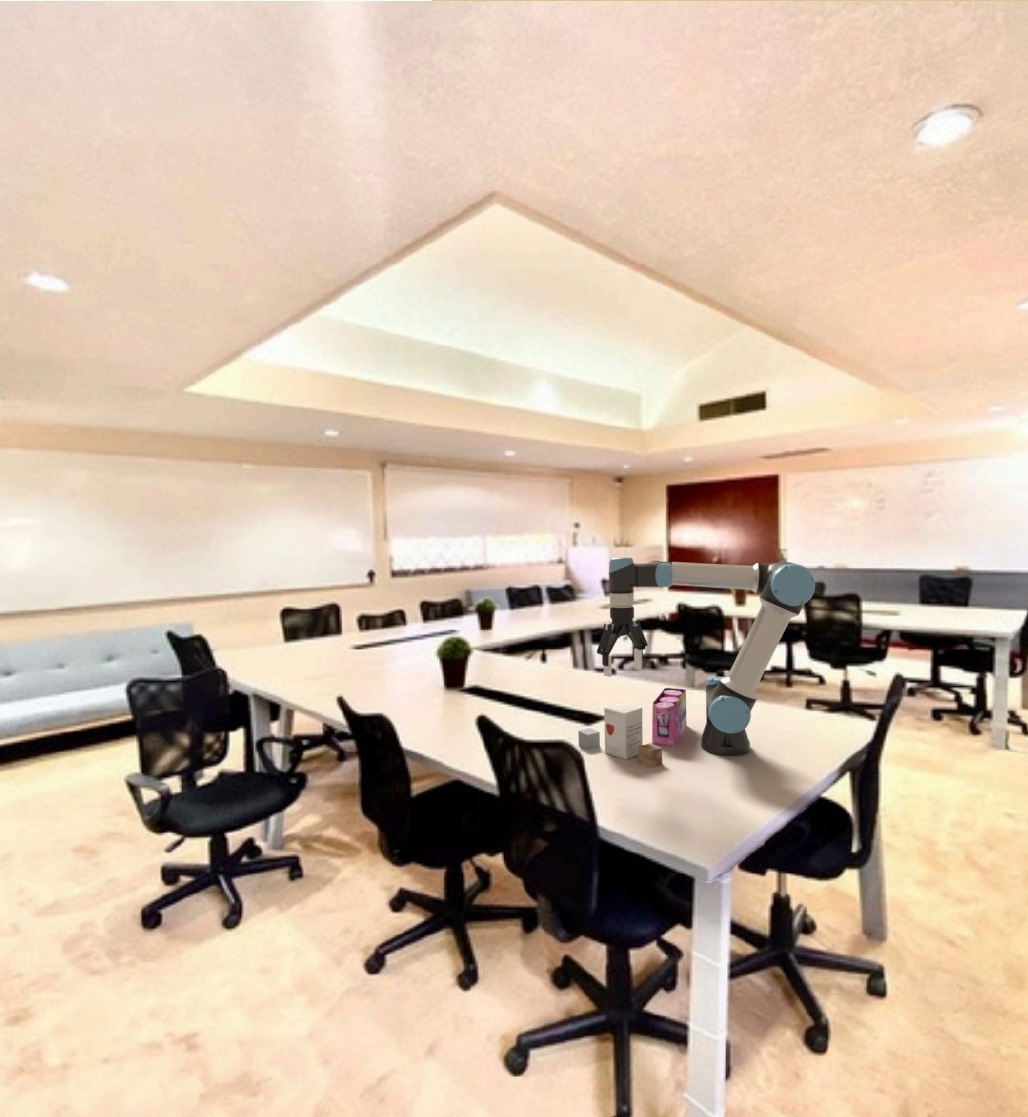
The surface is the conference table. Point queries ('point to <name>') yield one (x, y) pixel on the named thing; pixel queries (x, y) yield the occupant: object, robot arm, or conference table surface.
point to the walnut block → (650, 755)
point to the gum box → (669, 716)
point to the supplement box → (623, 730)
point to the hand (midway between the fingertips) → (623, 672)
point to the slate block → (589, 738)
